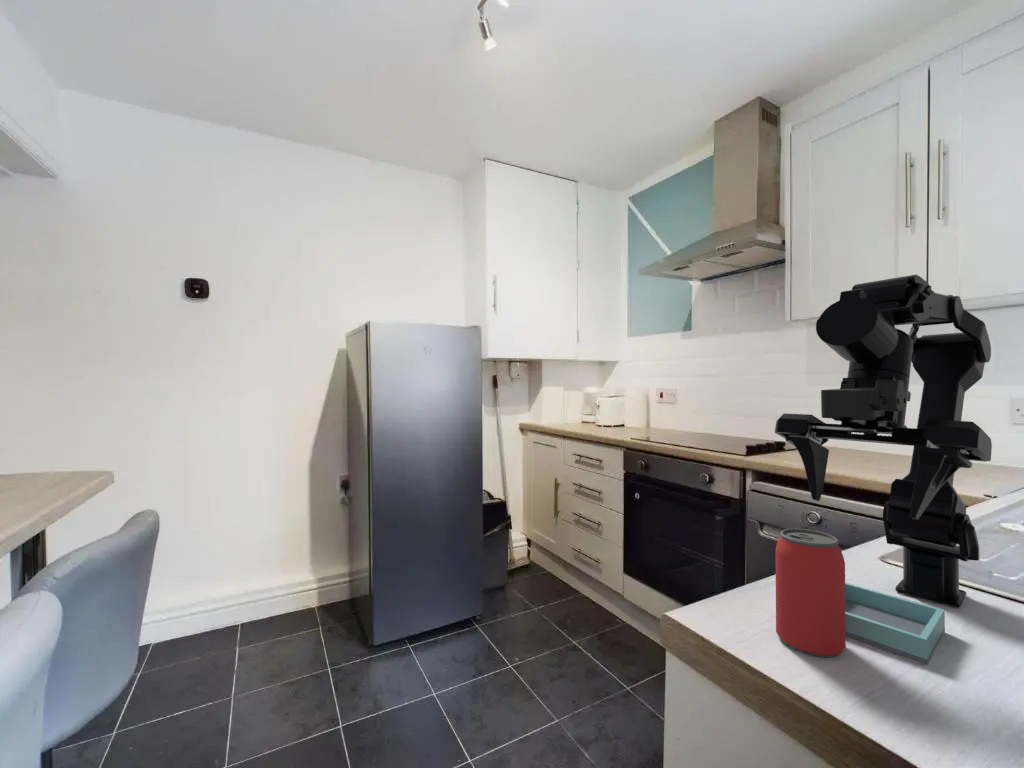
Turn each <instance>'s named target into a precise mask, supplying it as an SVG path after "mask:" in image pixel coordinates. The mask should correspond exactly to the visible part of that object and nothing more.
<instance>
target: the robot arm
mask: <svg viewBox="0 0 1024 768" xmlns="http://www.w3.org/2000/svg"><path fill="white" fill-rule="evenodd" d="M946 324H953V327H954V328H955V329H957V330H959V331H960V332H953V333H950V332H949V333H940V334H937V333H935V334H927V335H926V334H925V335H922V336H920V337H918V335H917V334H918V332H919V329H920V327H925V326H935V325H936V326H937V325H946ZM901 325H902V326H903V325H912V326H911V327H910V330H909V333H906V332H905V331H903V330H901V329H899V328H896V327H895V326H901ZM815 332H816V335H817V336H818V337H819V339H820V341H822V342H823V343H824V344H826V345H827V346H828V347H829V348H830V349H831V350H833V351H834V352H835V353H836V354H838V355H839V356H840V357H841V358H842V359H844V360H845V361H847V362H848V363H849V364H848V372H847V377H843V378H842V381H841V382H840V387H839V388H832V389H831V388H830V389H821V390H820V402H821V403H820V406H821V407H820V408H821V418H823V419H832V420H834V421H835V422H840V423H839V424H838V423H826V422H824V421H823V420H821V419H819V418H818V417H816V416H815V415H813V414H809V413H808V414H804V413H802V414H801V413H783V414H781V416H779V418H778V419H777V420H776V423H775V427H774V433H775V434H776V435H778V436H780V437H782V438H783V439H785V442H787V444H790V445H792V446H794V448H796V450H797V451H798V453H799V456H800V458H801V461H802V464H803V467H804V470H805V474H806V475H805V476H806V478H807V483H808V486H809V490H810V495H811V499H812V500H814V501H816V502H820V500H821V498H822V495H823V491H824V485H825V479H826V472H827V468H828V467H827V465H828V461H829V460H828V459H829V454H830V449H829V448H827V447H825V446H823V445H825V444H826V443H827V442H829V440H837V441H838V440H839V441H850V442H862V443H863V442H864V443H874V444H875V443H876V444H887V445H888V444H889V445H900V446H910V447H911V446H912V447H913V450H912V455H911V456H912V457H911V463H910V469H909V472H908V474H906V476H904V477H903V478H895V479H894V480H893V481H892V482H891V484H890V493H889V498H888V499H889V500H888V501H885V503H884V506H883V508H882V509H883V510H882V521H883V526H884V532H885V539H886V543H887V544H889V545H896V546H898V547H899V546H900V547H902V559H903V560H902V563H903V564H902V569H903V570H902V573H903V574H902V576H903V579H902V580H900V581H899V583H898V584H897V585H896V586H895V591H896V592H897V593H901V594H905V595H908V596H912V597H917V598H920V599H924V600H927V601H931V602H935V603H936V604H937V603H938V604H941V605H945V606H949V607H953V608H958V609H959V608H960V607H961V605H962V604H963V602H964V601H965V598H966V597H967V591H965V590H962V589H960V563H959V561H963V562H966V563H968V562H969V561H979V560H980V544H979V539H978V535H977V532H976V531H977V530H976V527H975V526H974V525H973V523H972V521H971V518H970V516H969V514H967V507H966V505H965V503H964V502H963V500H962V498H961V496H960V495H959V494H958V492H957V491H956V489H955V488H954V477H955V473H956V472H957V471H958V470H959V469H961V468H962V469H963V468H964V469H972V467H973V463H972V461H974V462H976V461H977V462H991V461H992V452H993V451H992V448H993V442H992V438H991V437H990V436H989V435H988V434H987V433H986V432H985V430H983V428H981V427H980V426H979V425H977V424H976V423H975V422H974V421H971V420H970V421H966V420H963V421H962V418H963V417H962V416H963V409H964V403H965V394H966V392H967V391H969V389H970V388H972V387H973V386H974V385H975V384H977V382H979V381H980V380H981V379H982V378H983V375H984V370H985V364H986V363H990V361H991V356H992V347H991V341H990V340H991V339H990V338H989V333H988V330H987V326H986V323H985V322H984V321H983V320H982V319H980V318H978V317H977V316H975V315H973V314H972V313H970V312H969V311H967V310H966V309H964V306H963V302H962V299H961V297H960V296H959V295H955V296H954V295H953V294H943V293H942V294H941V293H937V292H935V291H934V290H932V285H930V284H929V282H928V281H926V280H925V279H924V278H922V277H921V276H920V275H918V274H912V275H905V276H900V277H899V276H897V277H893V278H887V279H882V280H874V281H869V282H863V283H857V284H854V285H853V286H852V287H851V289H849V290H844V291H841V292H840V295H839V300H837V301H836V302H834V303H832V304H831V305H829V306H828V307H826V308H825V309H824V311H822V313H821V314H820V316H819V318H818V319H817V320H816V323H815ZM911 366H912V367H913V369H914V370H915V372H916V374H917V375H918V376H919V378H920V379H921V381H922V382H923V387H922V392H921V398H920V399H921V400H920V404H919V405H920V406H919V413H918V417H917V425H916V428H914V427H912V428H910V427H907V425H906V424H905V423H906V414H907V405H908V402H911V395H912V393H911V391H909V386H910V376H911V370H912V369H911ZM881 434H882V435H881Z"/></svg>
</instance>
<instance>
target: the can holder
mask: <svg viewBox="0 0 1024 768" xmlns="http://www.w3.org/2000/svg"><path fill="white" fill-rule="evenodd" d="M945 614H946V612H945V609H942V608H939V607H935V606H931V605H928V604H925V603H922V602H921V603H920V602H917V601H914V600H910V599H907V598H903V597H900V596H899V597H898V596H895V595H892V594H889V593H885V592H881V591H877V590H874V589H871V588H866V587H863V586H860V585H856V584H853V583H848V582H846V581H845V616H846V638H849V639H852V640H854V641H858V642H861V643H863V644H866V645H869V646H871V647H874V648H876V649H880V650H883V651H886V652H889V653H892V654H894V655H897V656H900V657H901V658H905V659H908V660H911V661H914V662H915V663H916V662H917V663H920V664H922V665H925V666H928V663H930V660H931V658H932V656H933V655H934V652H935V651H936V649H937V647H938V645H939V644H940V643H941V640H942V638H943V637H944V635H945V633H946V624H945V622H946V620H945V619H946V615H945Z"/></svg>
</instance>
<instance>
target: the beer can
mask: <svg viewBox="0 0 1024 768" xmlns="http://www.w3.org/2000/svg"><path fill="white" fill-rule="evenodd" d="M779 535H780V537H779V538H778V540H777V542H776V545H775V546H776V547H775V550H774V551H775V552H774V553H775V554H774V555H775V631H776V634H777V635H778V637H779V639H780V640H781V641H782V642H784V643H785V644H787V645H788V646H789V647H791V648H793V649H795V650H796V651H799V652H802V653H803V654H804V653H805V654H807V655H812V656H816V657H822V658H823V657H824V658H828V657H835V656H836V657H837V656H839V655H841V654H843V652H844V651H845V650H846V647H847V644H846V642H847V639H846V638H847V637H846V616H845V582H846V561H845V558H844V555H843V552H842V549H841V548H840V545H839V544H840V542H839V541H840V540H839V539H838V538H837V537H835V536H834V535H831V534H829V533H826V532H823V531H819V530H812V529H807V528H806V529H804V528H786V529H783V530H781V531H780V533H779Z"/></svg>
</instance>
